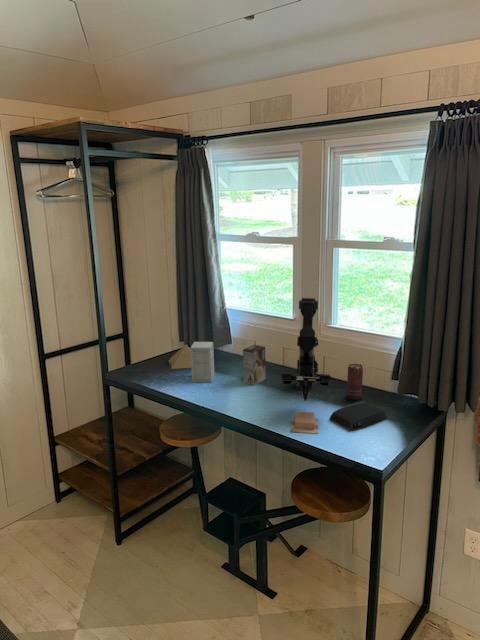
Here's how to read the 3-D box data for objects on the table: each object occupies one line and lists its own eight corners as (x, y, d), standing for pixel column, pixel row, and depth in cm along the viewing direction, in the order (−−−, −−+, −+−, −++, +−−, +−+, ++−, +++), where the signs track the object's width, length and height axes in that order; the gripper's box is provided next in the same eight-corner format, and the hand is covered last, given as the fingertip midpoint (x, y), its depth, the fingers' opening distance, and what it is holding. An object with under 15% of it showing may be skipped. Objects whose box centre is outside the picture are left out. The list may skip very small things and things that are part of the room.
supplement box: (214, 375, 235) (214, 341, 231) (211, 382, 226) (210, 347, 222) (195, 374, 236) (193, 341, 232) (191, 382, 227) (190, 347, 223)
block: (296, 411, 189) (295, 422, 181) (314, 412, 188) (314, 423, 180) (296, 417, 190) (295, 428, 181) (314, 418, 189) (314, 429, 180)
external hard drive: (327, 420, 189) (327, 410, 188) (363, 408, 199) (364, 398, 198) (351, 433, 178) (352, 423, 177) (388, 420, 188) (389, 410, 187)
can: (351, 401, 205) (352, 369, 201) (344, 395, 210) (345, 364, 207) (364, 399, 206) (366, 367, 202) (357, 393, 212) (358, 362, 208)
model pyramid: (168, 359, 260) (167, 341, 257) (200, 356, 263) (200, 338, 260) (169, 370, 244) (168, 350, 241) (204, 367, 247) (203, 348, 244)
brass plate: (291, 418, 190) (291, 417, 190) (318, 420, 188) (318, 419, 188) (290, 432, 179) (290, 431, 179) (318, 433, 178) (318, 432, 178)
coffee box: (254, 376, 233) (254, 344, 229) (265, 379, 229) (265, 346, 225) (243, 382, 226) (242, 349, 222) (254, 385, 222) (254, 351, 218)
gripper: (329, 372, 200) (329, 408, 193) (283, 370, 203) (281, 406, 195) (330, 360, 191) (330, 398, 183) (282, 358, 193) (280, 396, 186)
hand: (305, 400), depth 187 cm, fingers closed
